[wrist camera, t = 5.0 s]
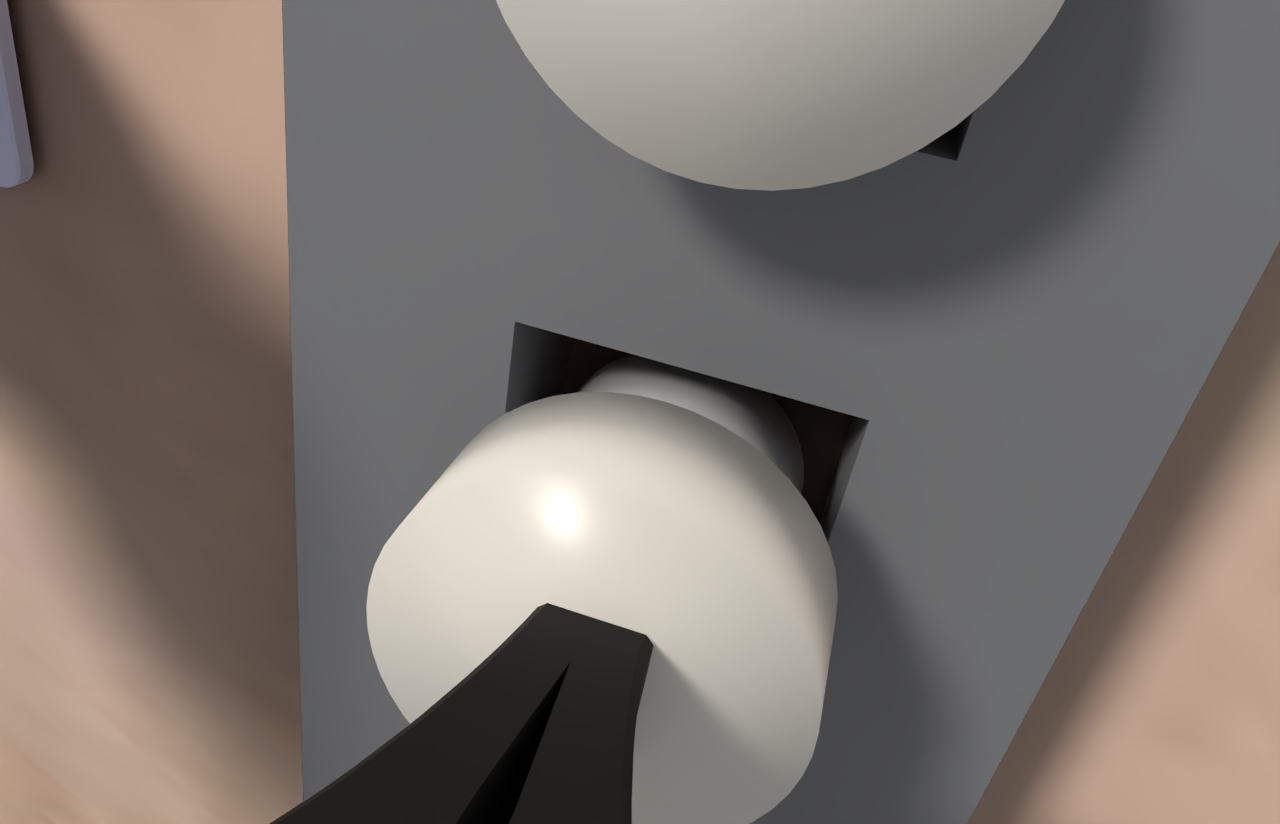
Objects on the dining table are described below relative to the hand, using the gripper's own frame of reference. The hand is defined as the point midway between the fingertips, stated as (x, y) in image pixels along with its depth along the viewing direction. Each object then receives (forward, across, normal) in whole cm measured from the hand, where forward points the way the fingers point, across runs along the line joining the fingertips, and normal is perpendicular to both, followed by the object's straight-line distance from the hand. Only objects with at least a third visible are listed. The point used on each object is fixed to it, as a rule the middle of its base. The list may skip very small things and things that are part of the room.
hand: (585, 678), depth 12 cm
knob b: (+5, 0, 0) cm, 5 cm away
